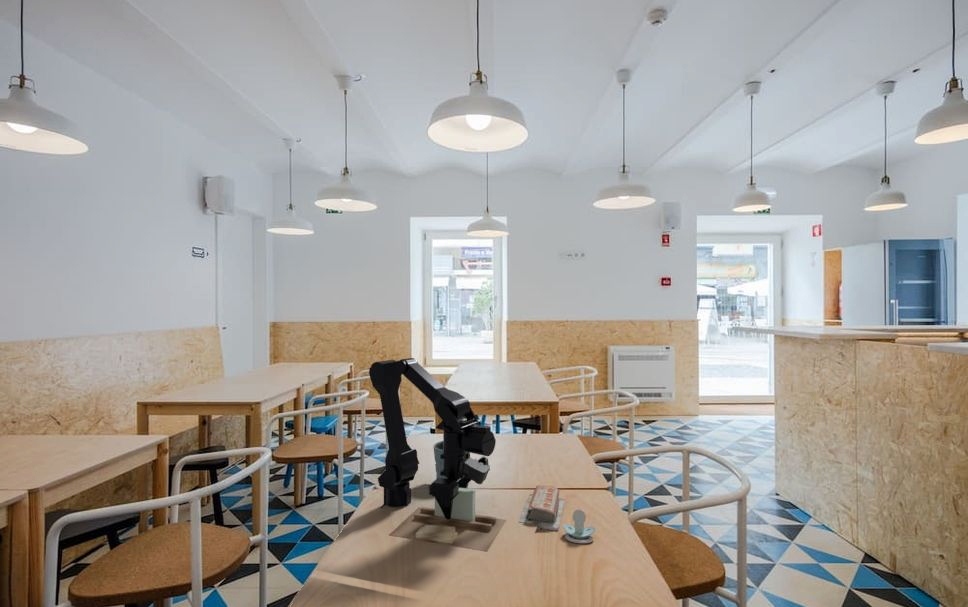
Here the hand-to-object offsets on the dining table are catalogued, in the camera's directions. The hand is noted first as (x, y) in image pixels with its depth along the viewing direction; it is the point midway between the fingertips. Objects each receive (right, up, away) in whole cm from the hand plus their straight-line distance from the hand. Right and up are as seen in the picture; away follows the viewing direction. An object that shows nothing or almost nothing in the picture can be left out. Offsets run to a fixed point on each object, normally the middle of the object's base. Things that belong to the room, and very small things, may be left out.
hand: (454, 511), depth 121 cm
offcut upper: (-3, -1, -8) cm, 9 cm away
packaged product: (+23, -4, +7) cm, 24 cm away
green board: (0, -2, 0) cm, 2 cm away
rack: (-1, -3, -3) cm, 5 cm away
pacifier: (+30, -4, -7) cm, 30 cm away
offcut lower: (-4, -2, -8) cm, 9 cm away
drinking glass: (-3, -3, +27) cm, 27 cm away
